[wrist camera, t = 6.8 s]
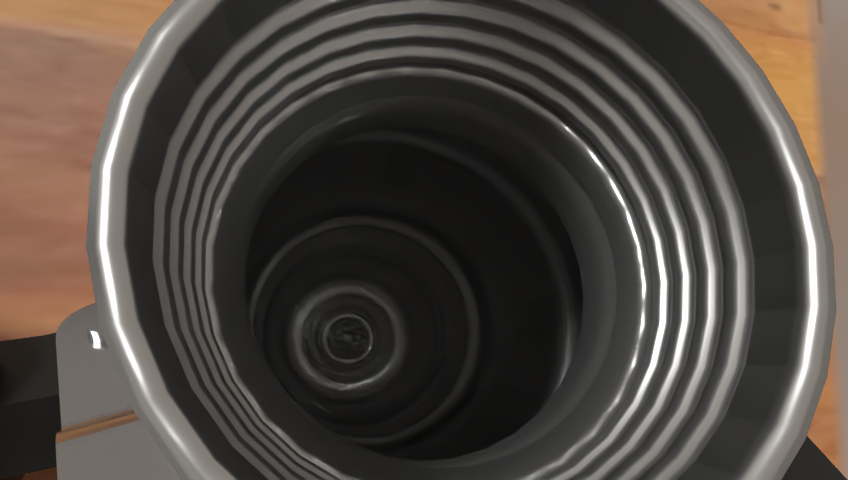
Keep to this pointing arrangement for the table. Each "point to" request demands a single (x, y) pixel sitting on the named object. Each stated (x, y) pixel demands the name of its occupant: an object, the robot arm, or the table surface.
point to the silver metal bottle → (459, 243)
